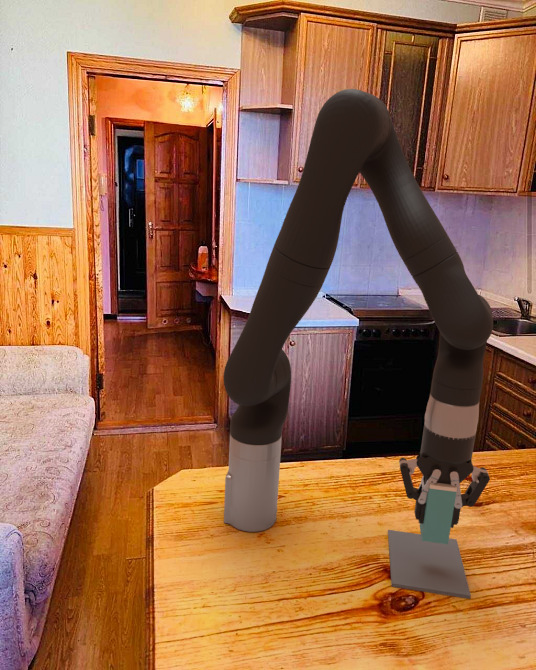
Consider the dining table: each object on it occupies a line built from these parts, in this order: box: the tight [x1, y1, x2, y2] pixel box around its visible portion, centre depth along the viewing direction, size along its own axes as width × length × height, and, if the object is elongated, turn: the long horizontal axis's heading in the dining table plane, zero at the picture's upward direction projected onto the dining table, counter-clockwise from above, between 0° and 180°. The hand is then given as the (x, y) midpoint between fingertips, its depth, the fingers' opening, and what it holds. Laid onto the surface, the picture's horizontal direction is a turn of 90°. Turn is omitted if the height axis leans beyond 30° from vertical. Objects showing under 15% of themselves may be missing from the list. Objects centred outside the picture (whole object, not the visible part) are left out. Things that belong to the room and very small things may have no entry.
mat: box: [387, 529, 471, 600], centre depth 95 cm, size 12×14×1 cm
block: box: [419, 483, 457, 544], centre depth 90 cm, size 4×4×10 cm
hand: (435, 522), depth 90 cm, fingers closed on block, 4 cm apart
